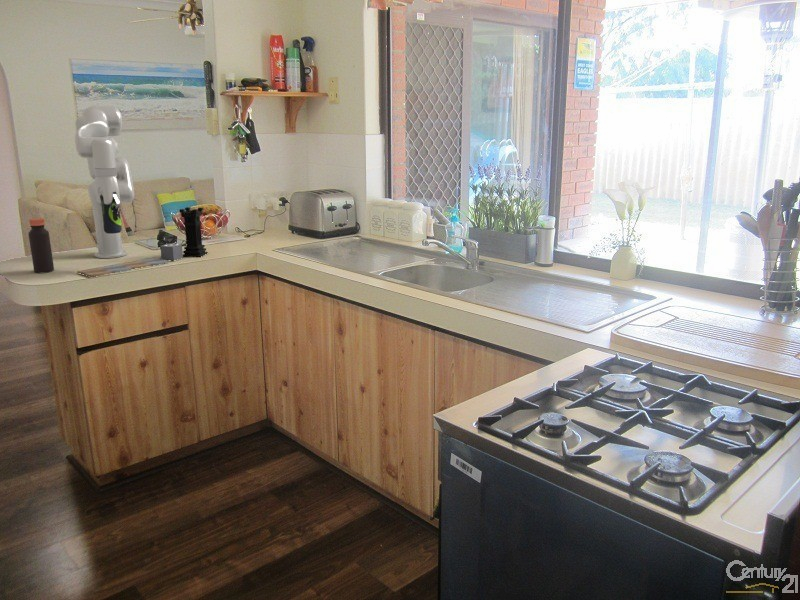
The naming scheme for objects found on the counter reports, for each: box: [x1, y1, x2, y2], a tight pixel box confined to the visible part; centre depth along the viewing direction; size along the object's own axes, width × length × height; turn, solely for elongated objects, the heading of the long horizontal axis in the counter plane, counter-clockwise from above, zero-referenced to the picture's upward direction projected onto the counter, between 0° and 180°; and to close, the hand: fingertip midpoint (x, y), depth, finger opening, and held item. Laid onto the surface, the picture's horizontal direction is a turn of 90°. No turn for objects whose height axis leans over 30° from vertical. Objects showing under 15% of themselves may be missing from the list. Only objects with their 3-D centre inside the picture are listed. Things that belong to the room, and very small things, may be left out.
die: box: [160, 243, 184, 262], centre depth 267 cm, size 6×6×6 cm
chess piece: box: [179, 206, 209, 258], centre depth 273 cm, size 8×8×20 cm
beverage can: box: [100, 194, 123, 234], centre depth 243 cm, size 6×6×15 cm
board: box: [77, 257, 170, 278], centre depth 251 cm, size 10×32×1 cm, turn 142°
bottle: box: [27, 217, 55, 273], centre depth 244 cm, size 7×7×20 cm
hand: (111, 220), depth 244 cm, fingers closed on beverage can, 4 cm apart
